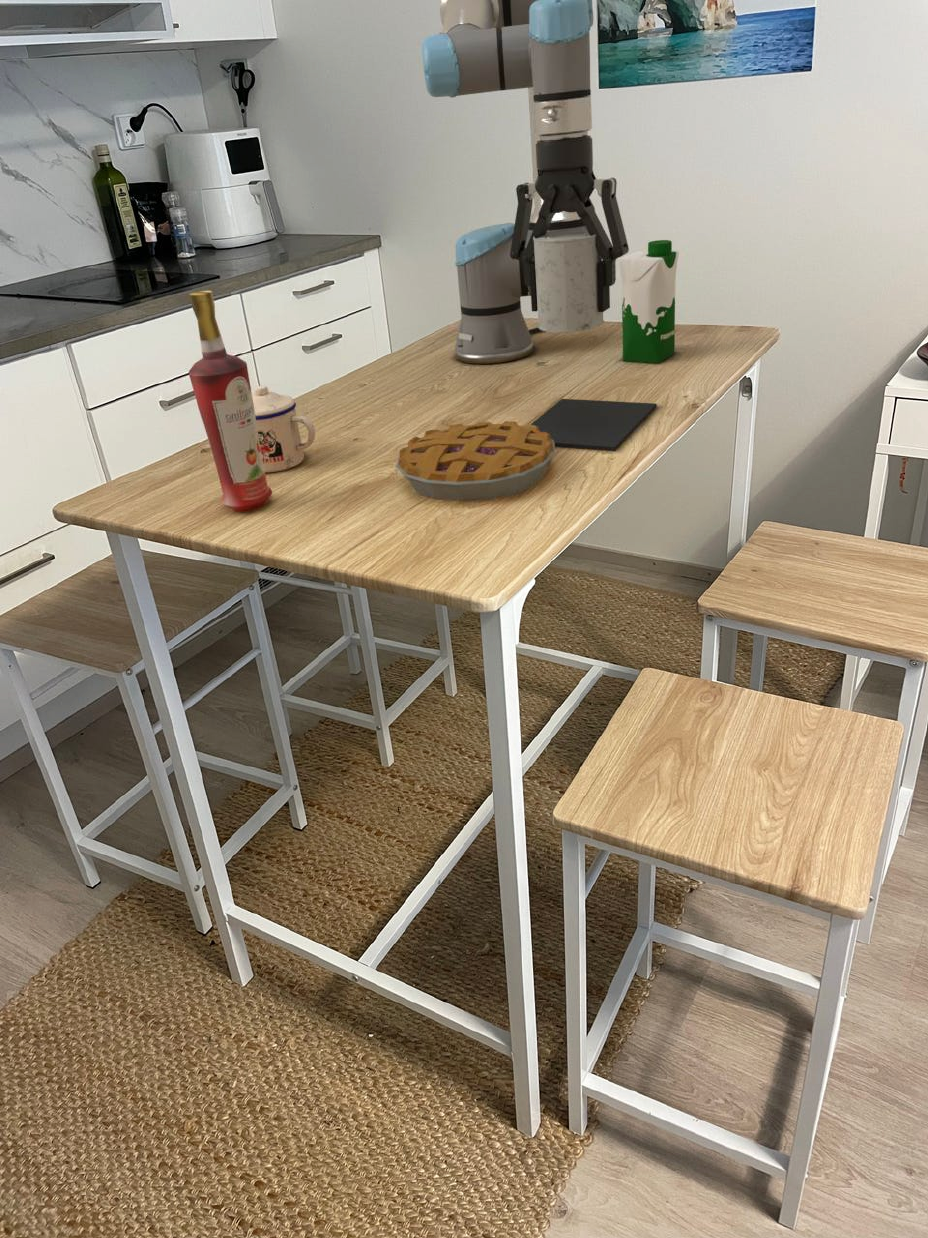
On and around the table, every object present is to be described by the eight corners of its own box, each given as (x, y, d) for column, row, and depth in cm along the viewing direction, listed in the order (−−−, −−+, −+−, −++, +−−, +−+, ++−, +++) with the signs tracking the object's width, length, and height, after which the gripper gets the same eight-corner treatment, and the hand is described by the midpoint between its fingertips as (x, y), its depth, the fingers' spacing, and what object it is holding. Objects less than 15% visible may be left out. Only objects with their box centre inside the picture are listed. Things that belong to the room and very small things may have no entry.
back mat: (561, 402, 155) (561, 398, 155) (656, 407, 148) (656, 403, 148) (512, 443, 140) (511, 439, 140) (615, 451, 133) (615, 447, 133)
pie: (379, 506, 123) (373, 470, 121) (422, 448, 142) (418, 416, 139) (544, 506, 118) (541, 469, 116) (567, 446, 136) (565, 412, 134)
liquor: (252, 491, 133) (206, 285, 119) (286, 500, 129) (243, 287, 115) (211, 509, 128) (158, 297, 115) (244, 519, 124) (193, 301, 110)
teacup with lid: (234, 473, 140) (217, 396, 134) (264, 451, 148) (249, 377, 142) (306, 475, 136) (291, 396, 131) (333, 453, 144) (320, 377, 138)
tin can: (601, 330, 132) (599, 237, 125) (533, 334, 134) (528, 242, 128) (606, 315, 140) (604, 226, 134) (542, 318, 142) (538, 231, 136)
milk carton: (660, 365, 168) (661, 246, 158) (615, 361, 173) (613, 246, 163) (681, 352, 174) (683, 237, 164) (637, 349, 179) (636, 237, 169)
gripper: (476, 144, 127) (490, 314, 138) (635, 132, 117) (636, 316, 128) (500, 139, 132) (511, 303, 143) (653, 126, 123) (653, 303, 134)
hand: (570, 309), depth 136 cm, fingers closed on tin can, 9 cm apart
